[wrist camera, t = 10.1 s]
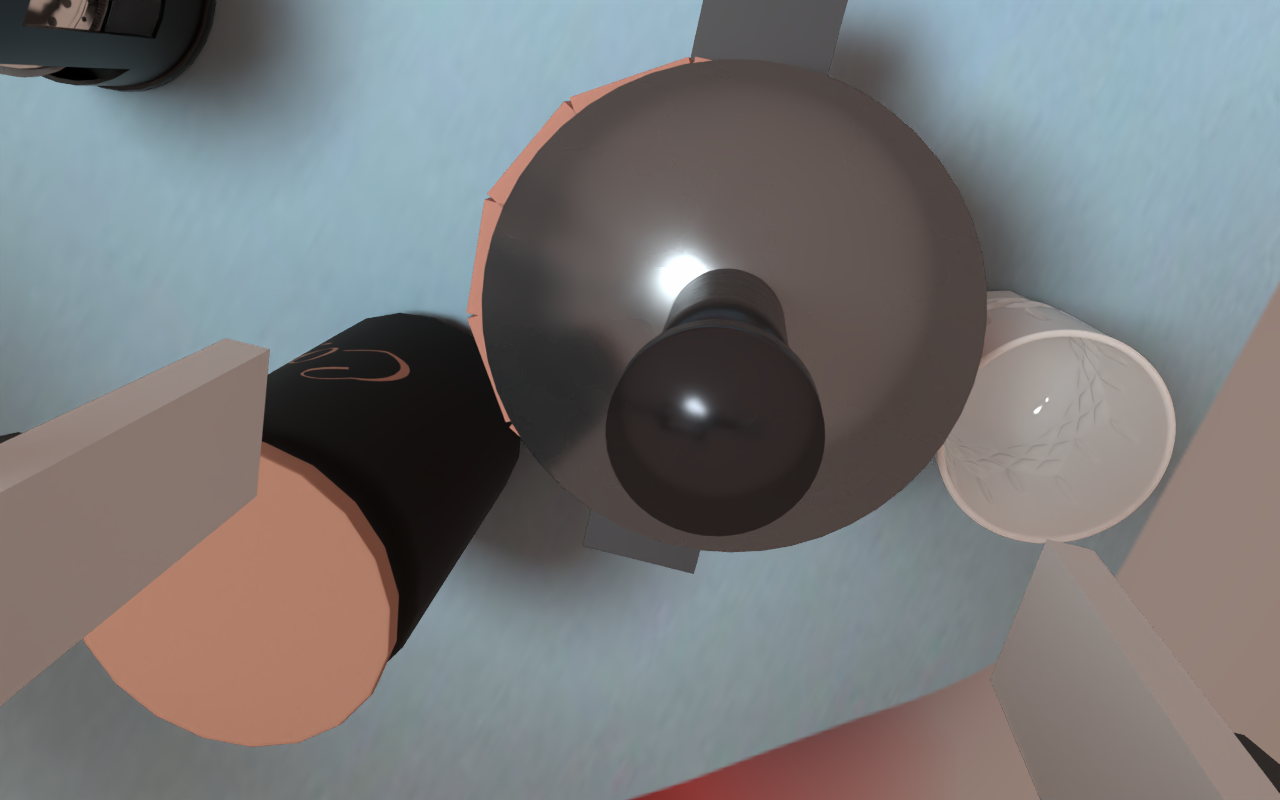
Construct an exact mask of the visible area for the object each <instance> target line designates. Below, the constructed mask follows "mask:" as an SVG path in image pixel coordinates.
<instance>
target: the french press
mask: <svg viewBox="0 0 1280 800" xmlns="http://www.w3.org/2000/svg"><path fill="white" fill-rule="evenodd" d="M113 2H114V0H0V74H5V75H11V76H17V77H36V76H42V77H45V78H48V79H50V80H53V81H55V82H60V83H66V84H72V85H85V86H98V87H101V88H105V89H111V90H117V91H141V90H147V89H151V88H154V87H157V86H161V85H163V84H165V83H167V82H169V81H170V80H172V79H174V78H175V77H177V76H179V75H180V74H181V73H182V72H183V71H184V70H185V69H186V68H187V67H188V66H189V65H191V64H192V63H193V61H194V60H195V58H196V57H197V55H198V54H199V52H200V51H201V49H202V48H203V46H204V44H205V42H206V39H207V37H208V34H209V31H210V29H211V26H212V21H213V15H214V10H215V0H161V5H160V12H159V17H158V20H157V23H156V25H155V28H154V31H153V33H152V36H146V35H136V34H126V33H115V32H105V30H106V27H107V25H108V23H109V19H110V16H111V12H112V8H113Z"/></svg>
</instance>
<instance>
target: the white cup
mask: <svg viewBox="0 0 1280 800" xmlns="http://www.w3.org/2000/svg"><path fill="white" fill-rule="evenodd" d="M1175 435H1176V419H1175V412H1174V407H1173V403H1172V399H1171V396H1170V394H1169V391H1168V389H1167V387H1166V385H1165V383H1164V381H1163V379H1162V378H1161V376H1160V375H1159V373H1158V372H1157V371H1156V369H1155V368H1154V367H1153V366H1152V365H1151V364H1150V363H1149V362H1148V361H1147V360H1146V359H1145V358H1144V357H1143V356H1142V355H1141V354H1139V353H1138V352H1137V351H1135V350H1134V349H1133V348H1131V347H1129V346H1128V345H1126V344H1124V343H1122V342H1120V341H1118V340H1116V339H1115V338H1113V337H1111V336H1109V335H1107V334H1105V333H1103V332H1101V331H1099V330H1097V329H1095V328H1094V327H1092V326H1090V325H1088V324H1086V323H1084V322H1083V321H1081V320H1079V319H1077V318H1075V317H1073V316H1071V315H1069V314H1067V313H1065V312H1063V311H1061V310H1059V309H1056V308H1053V307H1051V306H1049V305H1047V304H1045V303H1041V302H1037V301H1033V300H1031V299H1028V298H1026V297H1024V296H1021V295H1019V294H1017V293H1014V292H1012V291H1009V290H1006V291H987V324H986V331H985V339H984V346H983V353H982V357H981V361H980V364H979V368H978V371H977V375H976V379H975V382H974V386H973V388H972V390H971V392H970V395H969V397H968V399H967V402H966V404H965V406H964V409H963V411H962V413H961V416H960V417H959V419H958V421H957V422H956V424H955V426H954V427H953V429H952V431H951V432H950V434H949V436H948V437H947V439H946V441H945V442H944V444H943V445H942V446H941V447H940V449H939V450H938V451H937V453H936V454H935V455H934V457H935V460H936V463H937V465H938V468H939V471H940V474H941V476H942V479H943V482H944V484H945V486H946V488H947V490H948V492H949V493H950V495H951V497H952V498H953V499H954V501H955V502H956V503H957V505H958V506H959V507H960V508H961V509H962V510H963V511H964V512H965V513H966V514H967V515H968V516H969V517H970V518H971V519H973V520H974V521H975V522H977V523H978V524H980V525H981V526H983V527H985V528H986V529H988V530H990V531H992V532H994V533H996V534H999V535H1001V536H1004V537H1007V538H1010V539H1014V540H1018V541H1023V542H1029V543H1045V542H1046V540H1047V539H1050V540H1054V541H1058V542H1069V541H1074V540H1078V539H1082V538H1086V537H1089V536H1092V535H1094V534H1097V533H1099V532H1102V531H1104V530H1106V529H1108V528H1110V527H1112V526H1114V525H1115V524H1117V523H1119V522H1120V521H1122V520H1123V519H1125V518H1126V517H1127V516H1129V515H1130V514H1131V513H1133V512H1134V511H1135V510H1136V509H1137V508H1138V507H1139V506H1140V505H1142V504H1143V503H1144V501H1145V500H1146V499H1147V498H1148V497H1149V496H1150V495H1151V493H1152V492H1153V491H1154V490H1155V488H1156V487H1157V485H1158V484H1159V482H1160V480H1161V479H1162V477H1163V475H1164V473H1165V471H1166V469H1167V467H1168V464H1169V462H1170V459H1171V456H1172V452H1173V448H1174V443H1175Z"/></svg>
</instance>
